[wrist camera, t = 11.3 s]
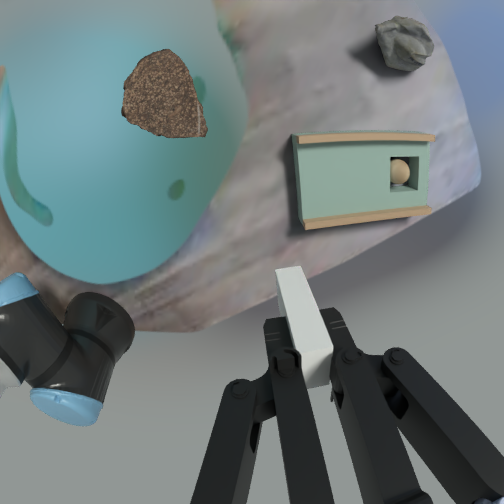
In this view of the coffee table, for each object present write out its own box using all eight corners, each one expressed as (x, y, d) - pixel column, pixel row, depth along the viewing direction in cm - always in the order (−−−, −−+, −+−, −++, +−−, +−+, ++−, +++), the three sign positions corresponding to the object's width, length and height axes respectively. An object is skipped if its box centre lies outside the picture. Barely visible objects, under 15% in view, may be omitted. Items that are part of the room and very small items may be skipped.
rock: (230, 120, 32) (168, 168, 29) (190, 126, 39) (138, 166, 36) (184, 35, 24) (107, 75, 21) (150, 60, 31) (90, 96, 28)
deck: (298, 218, 43) (305, 229, 39) (291, 134, 37) (298, 136, 33) (416, 204, 44) (430, 213, 40) (418, 131, 37) (434, 135, 34)
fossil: (366, 70, 33) (392, 63, 26) (354, 18, 29) (378, 3, 22) (422, 74, 33) (452, 72, 26) (412, 26, 29) (441, 17, 22)
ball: (381, 180, 42) (390, 187, 38) (382, 156, 40) (391, 161, 36) (403, 180, 41) (413, 187, 38) (403, 157, 39) (414, 162, 36)
